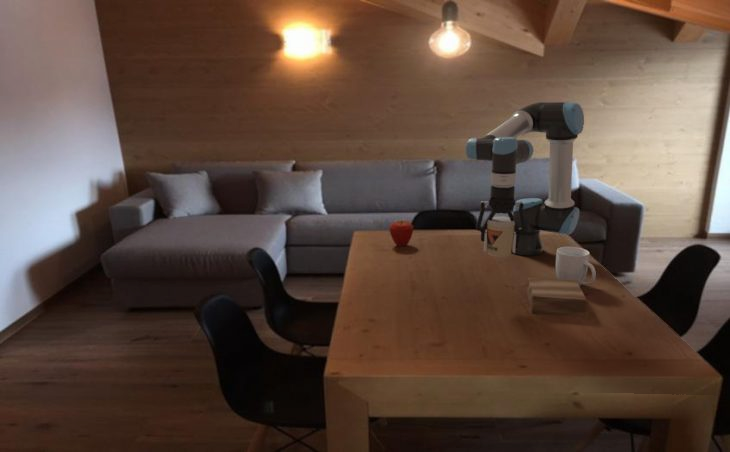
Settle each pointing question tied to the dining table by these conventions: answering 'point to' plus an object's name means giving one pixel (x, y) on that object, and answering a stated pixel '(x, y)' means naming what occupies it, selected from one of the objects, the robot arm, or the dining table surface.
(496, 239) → the coffee cup
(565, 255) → the mug
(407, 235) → the apple
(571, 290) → the riser
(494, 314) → the dining table surface
